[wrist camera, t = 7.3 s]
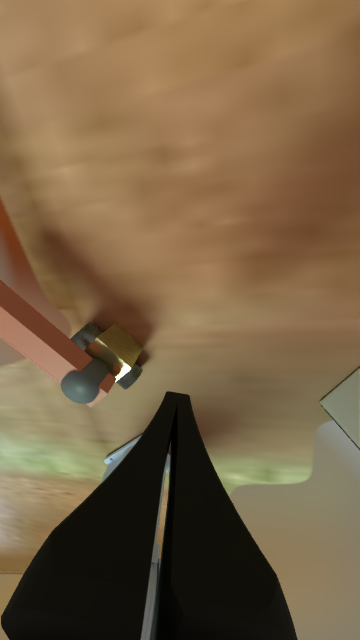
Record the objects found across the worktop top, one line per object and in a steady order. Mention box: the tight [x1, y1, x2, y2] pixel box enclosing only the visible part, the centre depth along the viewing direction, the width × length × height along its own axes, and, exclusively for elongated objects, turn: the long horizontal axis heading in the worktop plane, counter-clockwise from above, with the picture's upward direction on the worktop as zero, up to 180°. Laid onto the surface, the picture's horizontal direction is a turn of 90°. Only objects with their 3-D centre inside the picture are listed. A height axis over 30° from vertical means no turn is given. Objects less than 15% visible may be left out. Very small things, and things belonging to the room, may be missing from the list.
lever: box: [0, 280, 116, 408], centre depth 15 cm, size 14×3×2 cm, turn 43°
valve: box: [70, 322, 143, 389], centre depth 19 cm, size 6×8×4 cm
